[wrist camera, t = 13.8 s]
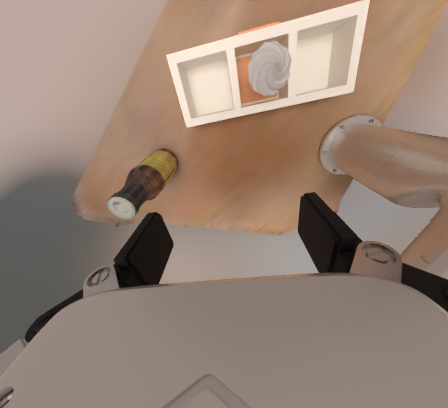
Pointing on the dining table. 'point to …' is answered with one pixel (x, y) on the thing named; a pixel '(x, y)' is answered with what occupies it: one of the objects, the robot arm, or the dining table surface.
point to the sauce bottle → (143, 183)
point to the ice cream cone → (269, 68)
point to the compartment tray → (299, 70)
